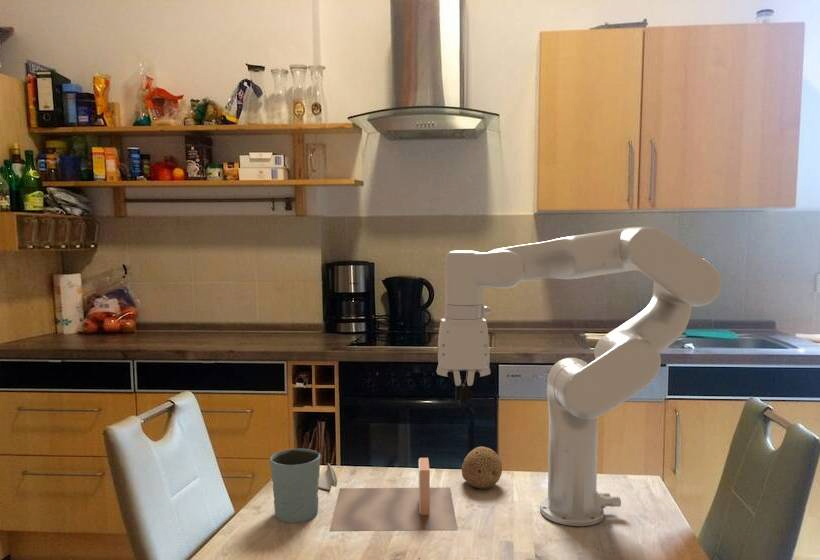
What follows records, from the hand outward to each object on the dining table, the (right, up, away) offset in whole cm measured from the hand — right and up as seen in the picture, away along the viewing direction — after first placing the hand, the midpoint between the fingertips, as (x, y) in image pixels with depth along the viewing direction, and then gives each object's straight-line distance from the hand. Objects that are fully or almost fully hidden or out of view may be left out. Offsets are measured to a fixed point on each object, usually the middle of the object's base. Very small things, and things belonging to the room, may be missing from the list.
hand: (463, 403), depth 128 cm
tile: (-8, -21, +1) cm, 23 cm away
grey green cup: (-34, -23, +2) cm, 41 cm away
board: (-14, -23, +1) cm, 27 cm away
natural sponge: (+5, -22, +13) cm, 26 cm away
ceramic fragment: (-29, -22, +18) cm, 41 cm away
